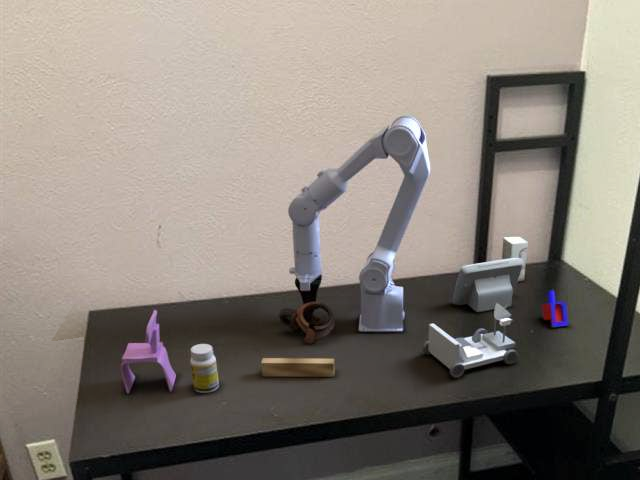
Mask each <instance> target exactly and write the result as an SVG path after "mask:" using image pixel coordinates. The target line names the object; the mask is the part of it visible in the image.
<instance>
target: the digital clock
mask: <svg viewBox="0 0 640 480" xmlns="http://www.w3.org/2000/svg"><path fill="white" fill-rule="evenodd" d="M522 267H523V260H522V259H521V258H510V259H503V260H502V259H498V260H491V261H490V260H489V261H484V262H478V263H472V264H465V265H462V266H461V267H460V269H459V270H458V271H459V272H458V275H457V279H456V283H455V287H454V290H453V293H452V297H451V303H452V304H453V305H455V306H463V305H467V306H469V307H470V308H471V309H472V310H473V311H475V312H476V313H481V312H487V311H493V310H495V306H496V303H498V304H499V305H501V306H502V307H503V308H504V307H505V306H506V305H507V304H509V305H508V307H507V308H509V307H512V301H513V295H514V292H515V290H516V287H517V284H518V282H519V281H518V279H519V276H520V273H521V270H522ZM517 281H518V282H517Z"/></svg>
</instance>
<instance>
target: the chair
mask: <svg viewBox="0 0 640 480" xmlns="http://www.w3.org/2000/svg"><path fill="white" fill-rule="evenodd" d="M157 316H158V311H157V309H153V310H152V314H151V316H150V319H149V321H148V323H147V325H146V329H145V341H144V342H128V343H127V345H126V349H125V352H124V354H123V355H122V357H121V365H120V372H121V376H122V381H123V384H124V388H125V391H126V394H130V392H131V390H132V387H133V385H134V381H135V379H136V375H134V373H133V371H132V369H131V367H130V364H133V363H134V364H135V363H155V364H158V366H159V367H160V368H161V370H162V372H163V375H164V377H165V380H166V383H167V387H168V390H169V392H173V388H174V385H175V381H176V378H177V374H176V373H175V371H174V369H173V367H172V364H171V362H170V359H169V355H168V351H167V349H166V347H165V346H164V343H163V341H160V323H157Z"/></svg>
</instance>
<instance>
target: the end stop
mask: <svg viewBox="0 0 640 480" xmlns="http://www.w3.org/2000/svg"><path fill="white" fill-rule="evenodd" d="M260 364H261V376H262V377H295V378H296V377H297V378H298V377H301V378H302V377H303V378H307V377H308V378H309V377H310V378H311V377H312V378H334V377H335V374H336V373H335V372H336V369H335V367H336V366H335V358H317V357H316V358H315V357H314V358H313V357H311V358H306V357H303V358H301V357H300V358H299V357H297V358H296V357H295V358H294V357H293V358H292V357H289V358H288V357H263V358H262V360H261V363H260Z"/></svg>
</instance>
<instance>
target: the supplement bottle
mask: <svg viewBox="0 0 640 480" xmlns="http://www.w3.org/2000/svg"><path fill="white" fill-rule="evenodd" d="M213 349H214V348H213V346H212V345H211V344H208V343H199V344H198V343H197V344H195V345H193V346H192V347H191V348H190V356H191V357H190V360H189V362H190V369H191V377H192V384H193V388H194V391H196V393H199V394H209V393H213V392H215V391H216V390H218V389H219V387H220V382H219V374H218V365H217V358H216V356H215V355H214V350H213Z"/></svg>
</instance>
